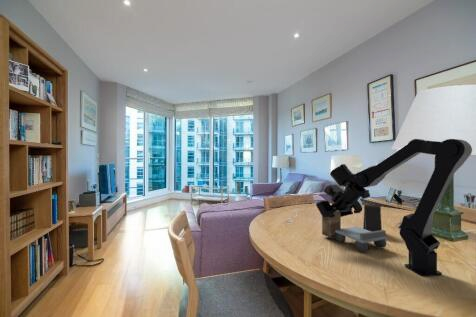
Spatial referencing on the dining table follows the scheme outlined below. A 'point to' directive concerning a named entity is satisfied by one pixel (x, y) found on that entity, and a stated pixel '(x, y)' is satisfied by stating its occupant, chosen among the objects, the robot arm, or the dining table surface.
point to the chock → (331, 225)
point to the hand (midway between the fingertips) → (328, 218)
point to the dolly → (362, 237)
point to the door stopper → (372, 218)
